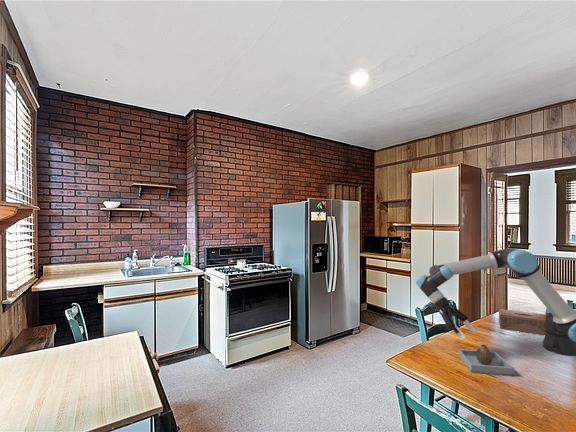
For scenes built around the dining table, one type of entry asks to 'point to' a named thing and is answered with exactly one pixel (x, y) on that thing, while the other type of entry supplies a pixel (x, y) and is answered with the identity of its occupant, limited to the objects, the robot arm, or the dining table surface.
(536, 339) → the dining table surface
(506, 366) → the box
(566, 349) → the robot arm
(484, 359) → the vase
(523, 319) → the tissue box cover
